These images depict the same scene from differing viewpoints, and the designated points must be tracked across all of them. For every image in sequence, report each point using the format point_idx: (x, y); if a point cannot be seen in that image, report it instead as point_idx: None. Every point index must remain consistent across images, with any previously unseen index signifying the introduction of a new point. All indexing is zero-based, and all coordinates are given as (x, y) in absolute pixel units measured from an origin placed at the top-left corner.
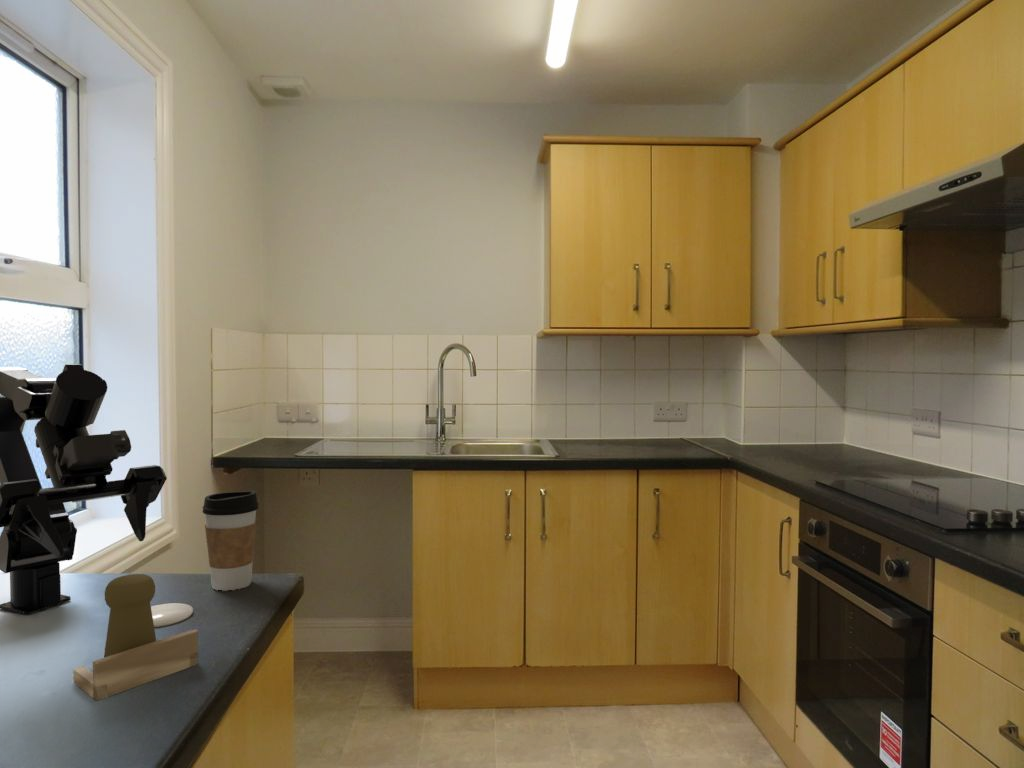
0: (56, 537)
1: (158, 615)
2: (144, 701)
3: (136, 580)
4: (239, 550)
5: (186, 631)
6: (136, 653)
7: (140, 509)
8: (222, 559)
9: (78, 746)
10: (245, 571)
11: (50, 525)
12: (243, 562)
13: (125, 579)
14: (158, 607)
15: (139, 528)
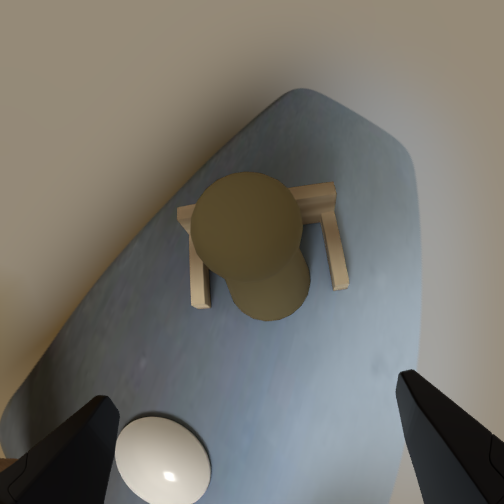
0: (439, 410)
1: (165, 461)
2: (284, 173)
3: (234, 182)
4: (1, 461)
5: (189, 217)
6: None
7: (30, 469)
8: None
9: (357, 131)
10: None
11: (477, 454)
12: (14, 459)
13: (254, 195)
14: (154, 493)
15: (90, 419)
